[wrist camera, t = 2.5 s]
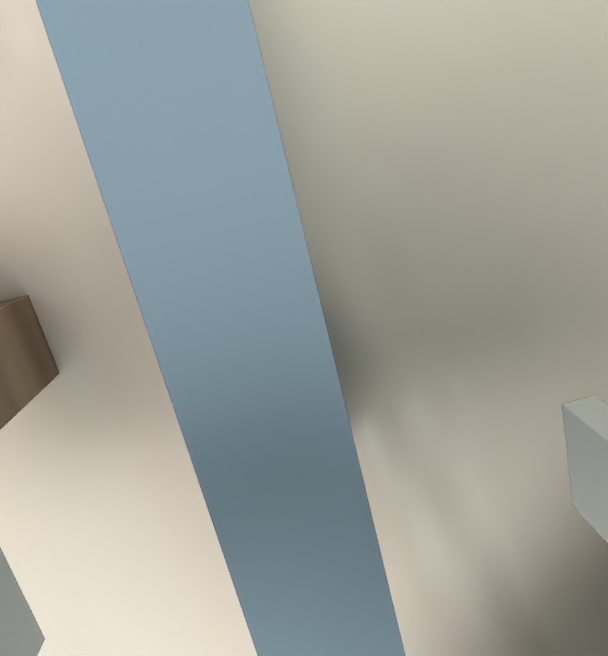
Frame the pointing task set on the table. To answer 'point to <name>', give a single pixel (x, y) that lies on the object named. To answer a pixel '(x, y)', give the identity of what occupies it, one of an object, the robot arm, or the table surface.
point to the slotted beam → (21, 357)
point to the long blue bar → (230, 308)
